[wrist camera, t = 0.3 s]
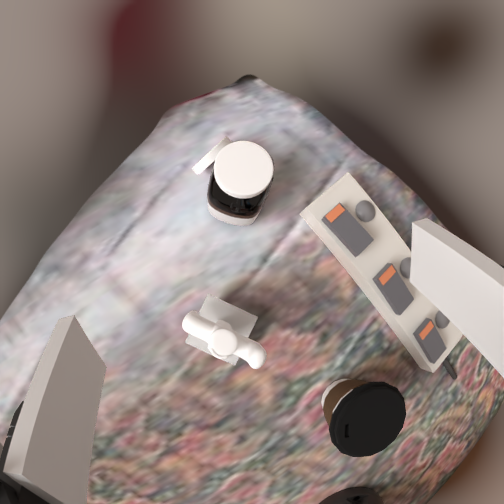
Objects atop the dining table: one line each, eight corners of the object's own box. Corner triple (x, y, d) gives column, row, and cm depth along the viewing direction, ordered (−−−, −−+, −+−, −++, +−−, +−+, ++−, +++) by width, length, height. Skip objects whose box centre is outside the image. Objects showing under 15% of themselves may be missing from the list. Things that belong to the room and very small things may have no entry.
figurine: (201, 289, 45) (194, 290, 30) (261, 318, 45) (282, 331, 30) (180, 334, 44) (163, 356, 29) (240, 362, 44) (251, 395, 29)
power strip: (467, 360, 48) (481, 363, 44) (439, 396, 47) (453, 401, 43) (338, 180, 49) (348, 171, 45) (299, 214, 48) (306, 206, 43)
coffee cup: (307, 432, 44) (332, 468, 32) (305, 369, 45) (333, 393, 33) (369, 419, 45) (405, 447, 33) (371, 359, 46) (411, 376, 34)
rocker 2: (441, 346, 43) (447, 348, 42) (429, 362, 43) (434, 364, 41) (426, 317, 42) (431, 319, 41) (412, 333, 42) (418, 335, 40)
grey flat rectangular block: (371, 241, 43) (374, 239, 41) (355, 257, 42) (358, 255, 41) (337, 205, 44) (340, 201, 42) (321, 220, 43) (323, 216, 42)
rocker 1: (409, 298, 43) (415, 299, 42) (395, 314, 43) (401, 315, 42) (387, 263, 43) (392, 263, 41) (372, 278, 42) (377, 279, 41)
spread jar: (252, 235, 47) (264, 218, 35) (178, 212, 46) (166, 188, 34) (274, 162, 48) (291, 127, 37) (205, 141, 47) (203, 101, 36)
